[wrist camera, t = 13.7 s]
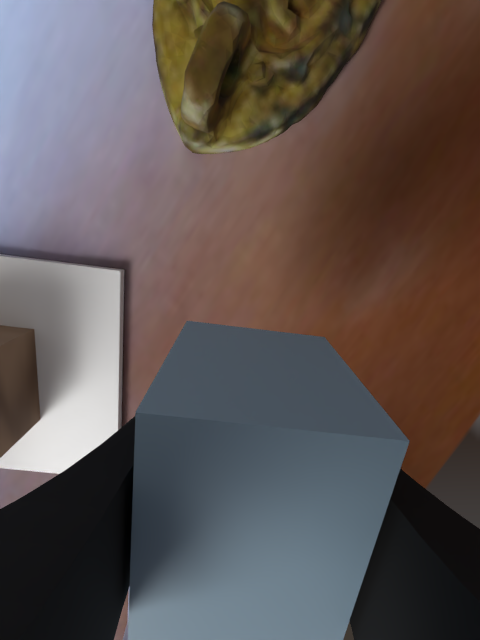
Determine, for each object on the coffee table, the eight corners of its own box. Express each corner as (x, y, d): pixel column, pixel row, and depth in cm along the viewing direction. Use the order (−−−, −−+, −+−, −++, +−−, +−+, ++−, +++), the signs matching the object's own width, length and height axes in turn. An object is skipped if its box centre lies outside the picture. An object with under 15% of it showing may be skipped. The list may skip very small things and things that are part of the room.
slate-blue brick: (291, 486, 11) (331, 673, 7) (174, 475, 11) (127, 659, 6) (324, 337, 10) (409, 441, 5) (187, 320, 10) (135, 412, 5)
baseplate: (120, 472, 21) (117, 479, 20) (-91, 451, 20) (-101, 458, 20) (124, 269, 17) (120, 270, 16) (-138, 236, 16) (-151, 237, 16)
